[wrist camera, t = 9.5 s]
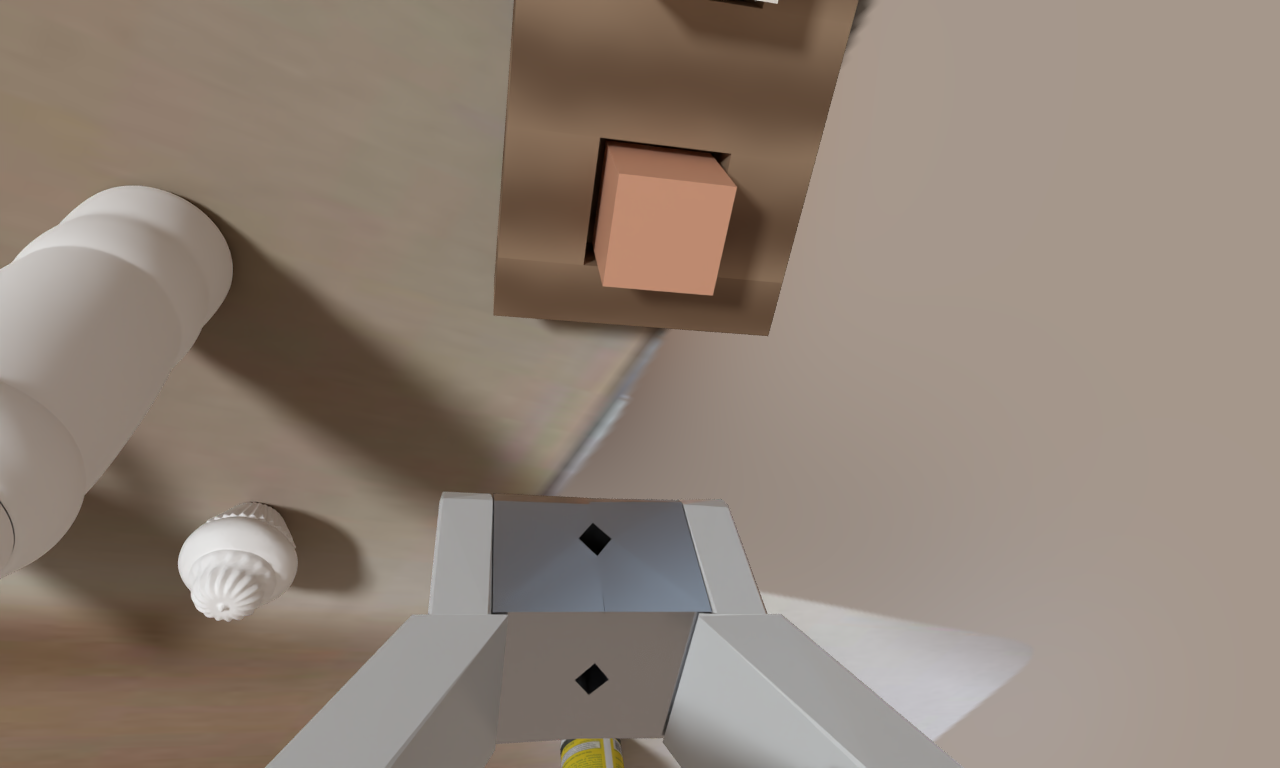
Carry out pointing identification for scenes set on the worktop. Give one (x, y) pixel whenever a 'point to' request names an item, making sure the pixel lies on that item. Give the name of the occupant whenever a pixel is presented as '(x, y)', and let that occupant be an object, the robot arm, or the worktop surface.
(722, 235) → the terracotta key
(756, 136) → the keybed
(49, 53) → the worktop surface
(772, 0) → the cream key
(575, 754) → the supplement bottle
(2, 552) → the water bottle
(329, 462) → the worktop surface
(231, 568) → the muffin
